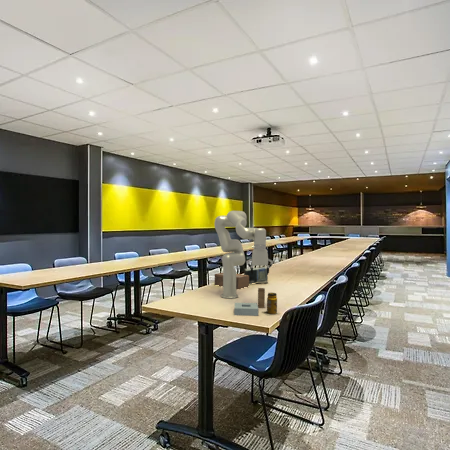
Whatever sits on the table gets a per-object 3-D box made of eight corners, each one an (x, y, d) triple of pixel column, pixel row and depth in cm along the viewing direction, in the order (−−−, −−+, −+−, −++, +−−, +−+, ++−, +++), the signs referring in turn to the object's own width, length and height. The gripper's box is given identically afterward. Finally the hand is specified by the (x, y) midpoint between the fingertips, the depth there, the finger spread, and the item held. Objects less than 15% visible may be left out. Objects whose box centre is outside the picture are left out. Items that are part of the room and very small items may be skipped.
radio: (243, 284, 292) (243, 267, 292) (241, 283, 301) (241, 266, 301) (269, 284, 297) (269, 267, 297) (265, 282, 306) (266, 266, 305)
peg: (257, 306, 218) (258, 287, 218) (264, 306, 218) (264, 288, 218) (258, 307, 214) (258, 289, 214) (264, 308, 214) (264, 289, 214)
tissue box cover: (214, 285, 288) (214, 274, 288) (225, 283, 299) (225, 272, 299) (238, 289, 271) (238, 277, 271) (248, 287, 282) (249, 275, 282)
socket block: (234, 308, 211) (234, 302, 211) (257, 309, 210) (257, 303, 210) (234, 315, 197) (234, 308, 197) (258, 315, 196) (258, 308, 196)
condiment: (279, 314, 201) (280, 294, 201) (267, 315, 197) (267, 295, 197) (273, 311, 207) (273, 291, 207) (261, 312, 204) (261, 292, 204)
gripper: (246, 247, 212) (246, 274, 212) (274, 248, 212) (273, 275, 212) (246, 247, 220) (246, 273, 220) (272, 247, 219) (272, 273, 219)
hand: (259, 274), depth 216 cm, fingers open, 9 cm apart
